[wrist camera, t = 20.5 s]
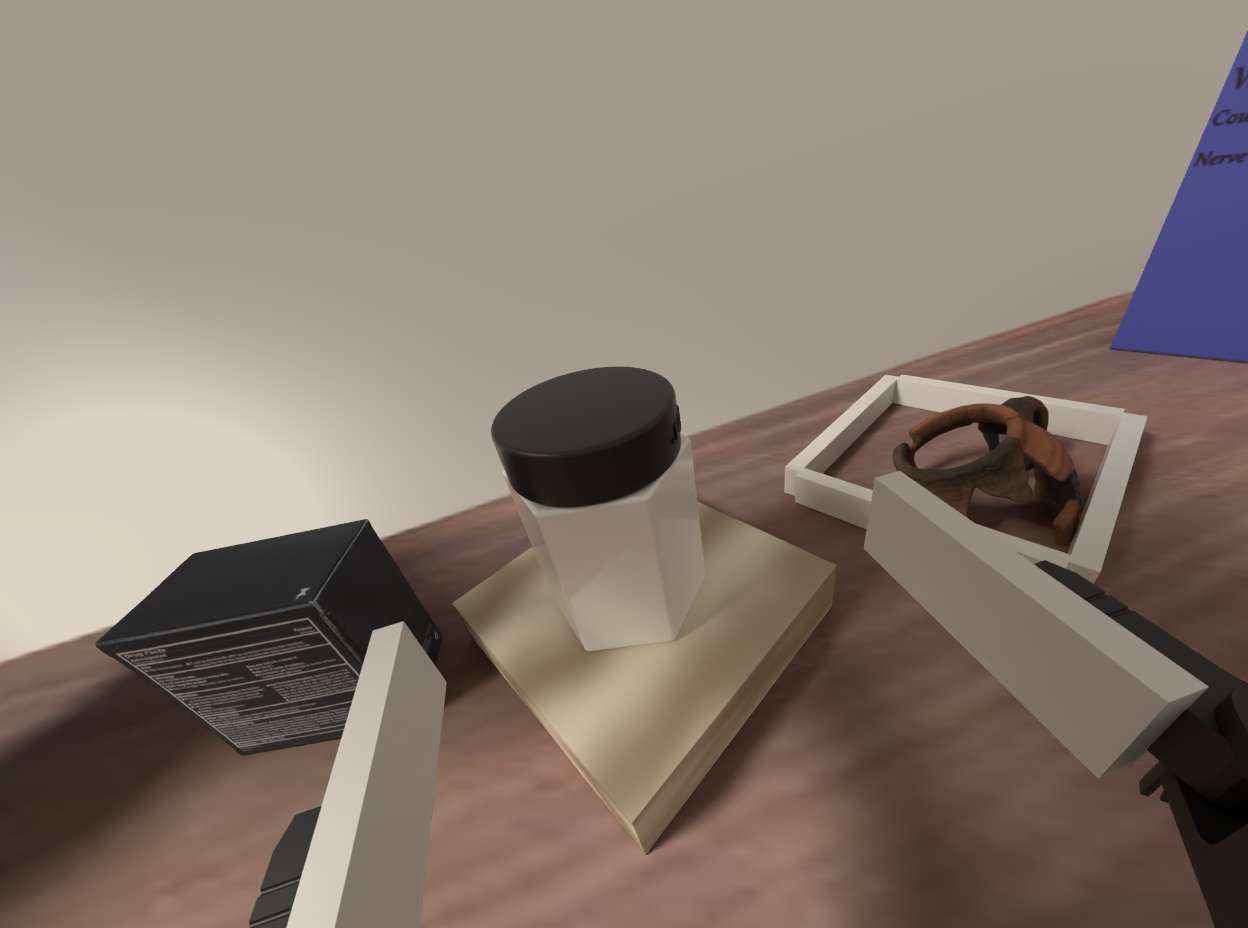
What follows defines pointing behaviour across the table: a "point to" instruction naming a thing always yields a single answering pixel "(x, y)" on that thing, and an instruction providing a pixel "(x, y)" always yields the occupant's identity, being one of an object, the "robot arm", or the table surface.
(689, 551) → the jar
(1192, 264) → the cereal box
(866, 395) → the grey tray rim
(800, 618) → the maple base
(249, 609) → the small box
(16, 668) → the table surface
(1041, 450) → the pottery mug
